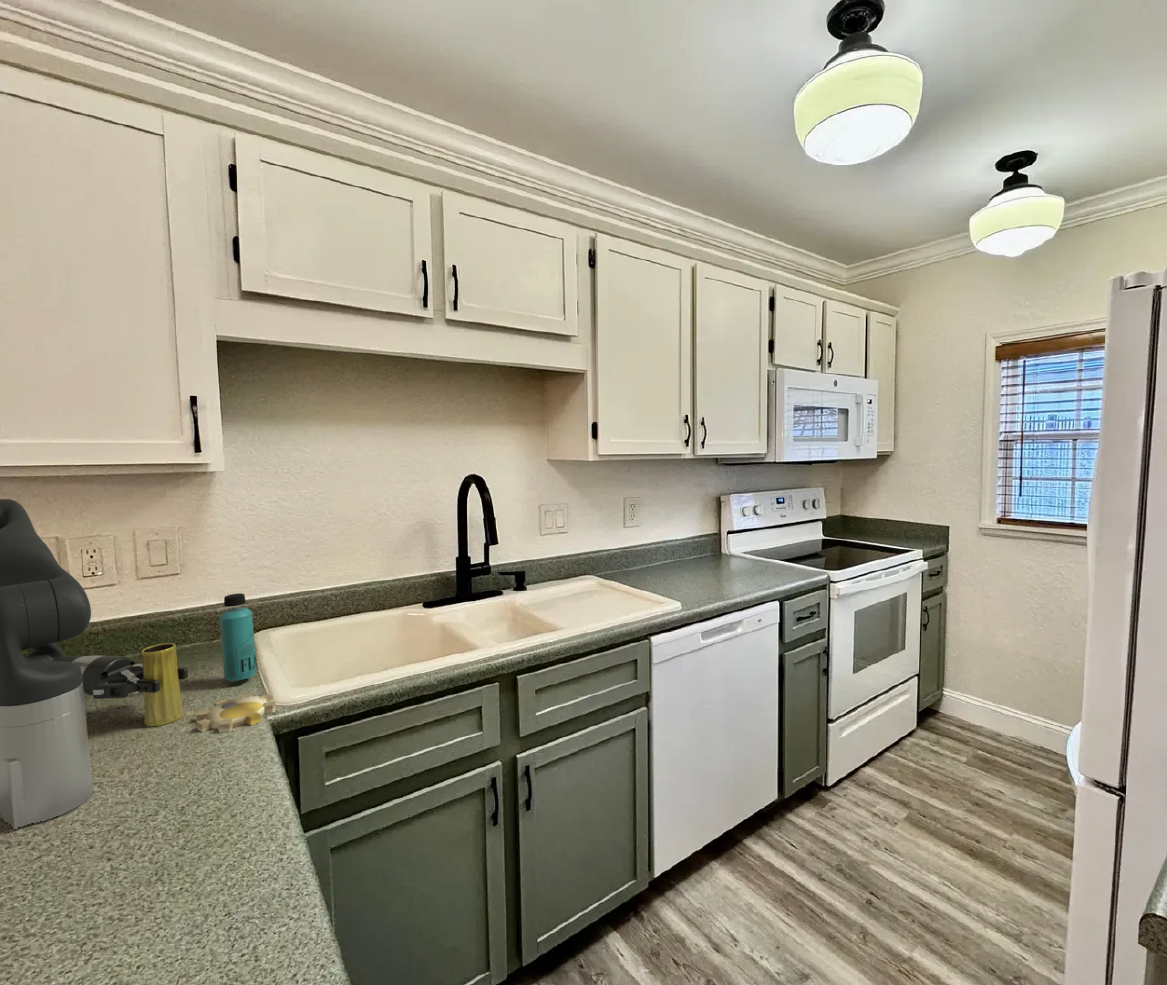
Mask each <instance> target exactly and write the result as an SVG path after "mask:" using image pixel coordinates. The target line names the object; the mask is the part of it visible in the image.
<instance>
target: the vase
mask: <svg viewBox="0 0 1167 985" xmlns="http://www.w3.org/2000/svg"><path fill="white" fill-rule="evenodd" d="M141 658H142V660H141V661H142V662H141V664H142V666H143V675H144V679H149V680H158V681H159V685H160V690H159V691H158V692H156V693H149V692H143V695H144V696H143V698H144V699H143V701H144V722H143V723H144V725H145V726H147V727H159V726H164V725H168V724H170V723H173V722H176V721H178V720H180V719H181V718H182V717H183V716H184V714H185V712H184V711H185V710H184V708H183V700H182V699H183V698H182V694H181V693H182V692H181V687H180V681H179V680H180V679H179V678H178V668H177V661H178V657H177V647H176V643H170V642H166V643H158V644H154V645H150V646H148V647H145V648H143V649H142V650H141Z"/></svg>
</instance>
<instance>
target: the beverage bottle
mask: <svg viewBox="0 0 1167 985" xmlns="http://www.w3.org/2000/svg"><path fill="white" fill-rule="evenodd" d="M246 601H247V599H246V595H245V593H232V594H231V593H230V594H227V595H225V596H224V598H223V606H224V607H229V608H228V609H226V610H224V611H223V613H222V614H220V615H219V622H220V625H219V626H220V635H221V650H222V652H221V654H222V655H221V658H222V659H221V660H222V666H223V671H222V672H223V677H224V680H226V681H228V682H229V681H230V682H231V681H233V682H234V681H235V682H237V681H241V680H245V679H249V678H252V677H253V676H255V675H256V674H257V668H258V667H257V665H258V664H257V656H256V654H257V653H256V648H257V647H256V645H255V632H254V630H255V627H254V622H253V611H252V610H250V609H249V608H247V607H242V606H241V605H245V604H246V603H247V602H246ZM237 606H239V607H237ZM240 606H241V607H240ZM230 607H233V608H230Z"/></svg>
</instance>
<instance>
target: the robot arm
mask: <svg viewBox="0 0 1167 985" xmlns="http://www.w3.org/2000/svg"><path fill="white" fill-rule="evenodd" d="M91 617H92V608H91V603H90V601H89V598H88V595H87V593H86V591H85V590H84V588H83V586H82V585H81V584H80V582H79V581H78V580H77V579H76V578H75V577H74V576H72V575H71V574H70V573H69V572H68V571H66V570H65V569H64V568H62V567H61V566H60V563H58V561H57V559H56V558H55V556H54V554H53V552H52V550H51V549H50V548H49V547H48V545H47V544H46V542H44V541H43V540H42V538H41V537H40V535H39V534H38V533H37V532H36V530H35V528H34V525H33V523H32V520H31V518H30V516H29V514H28V512H27V511H26V509H25V508H24V506H22V505H21V504H20V502H18V501H17V500H14V499H8V498H2V499H0V818H1V819H3V820H4V819H5V820H6V821H7V822H8V823H9V824H10V825H11V826H12V827H14V828H18V827H21V828H23V827H24V826H23V825H26V824H30V825H32V824H31V823H34V824H36V823H35V822H39V823H41V822H40V821H42V822H44V821H43V820H46V821H48V820H47V819H49V820H51V818H52V819H54V818H53V817H55V818H57V817H59V816H62V815H64V814H67V813H69V812H70V811H72V810H74V809H76V808H78V807H80V806H81V805H83V804H84V803H85V802H87V800H89V798H91V796H92V794H93V793H94V785H93V775H92V774H93V773H92V765H91V755H90V746H89V736H88V735H89V734H88V724H87V713H86V702H85V696H92V697H93V699H94V700H96V699H97V700H98V699H100V700H101V699H125V698H127V697H129V695H130V694H133V695H136V694H139V693H144V692H149V693H156V692H158V691H159V690H160V685H159V681H158V680H149V679H144V675H143V666H142V663H136V662H135V661H133V659H131V658H129V657H127V656H119V655H118V656H117V655H115V656H113V655H87V656H86V655H85V656H84V655H66V654H65V652H64V651H62V649H61V648H60V647H59V646H58V644H57V643H59V642H64V641H67V640H69V639H73V638H76V637H78V636H79V635H81V634H83V633H84V632H85V631H86V630H87V629H88V626H90V622H91ZM26 650H29V651H30V652H29V654H27V655H25V656H23V655H22V651H26ZM177 668H178V678H179V680H181V681H182V680H186V679H188V677H189V669H188V668H187V667H184V666H179V661H178V660H177ZM56 816H57V817H56ZM5 820H4V821H5ZM6 821H5V822H6ZM7 822H6V823H7ZM8 823H7V824H8ZM9 824H8V825H9ZM10 825H9V826H10ZM11 826H10V827H11ZM22 826H23V827H22ZM26 826H27V825H26ZM12 827H11V828H12Z"/></svg>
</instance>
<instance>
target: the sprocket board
mask: <svg viewBox="0 0 1167 985" xmlns="http://www.w3.org/2000/svg"><path fill="white" fill-rule="evenodd" d="M276 710H277V708H276V701H274V700H273V695H272V694H268V693H267V694H264V695H261V696H256V695H255V696H254V695H253V693H245V694H242V695H241V696H240V697H238V698H233V699H229V700H226V699H223V698H222V699H220V700H218V701H215V702H213V707H211V708H209V709H205V710H200V711H198V712H197V714H196V715H195V720H196V728H197V731H199V732H201V733H204V732H206V731H208V730H211V729H214V730H218V733H219V734H220V733H228V732H231V731H232V730H233V728H237V727H241V726H243V725H249V726H254V725H255V724H257V723H260V722H262V718H261V717H263V716H264V715H265V714H267V715H268V714H273V713H274V712H276Z"/></svg>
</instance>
